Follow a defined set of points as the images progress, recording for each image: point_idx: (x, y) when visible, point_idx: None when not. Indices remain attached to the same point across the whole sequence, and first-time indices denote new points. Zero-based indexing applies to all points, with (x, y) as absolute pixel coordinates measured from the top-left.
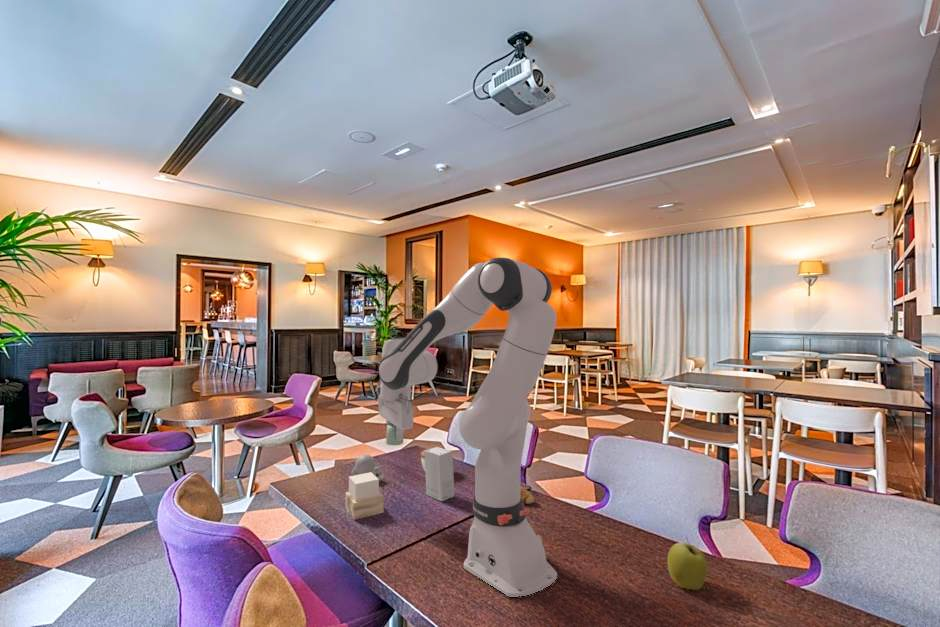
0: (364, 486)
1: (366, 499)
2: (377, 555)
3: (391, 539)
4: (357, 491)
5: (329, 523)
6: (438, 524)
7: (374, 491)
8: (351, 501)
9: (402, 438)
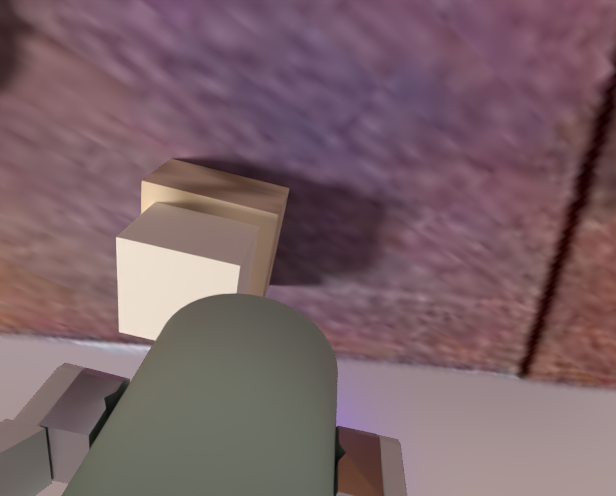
0: None
1: (256, 275)
2: (510, 345)
3: (477, 277)
4: None
5: None
6: (560, 89)
7: (250, 255)
8: None
9: (399, 451)
